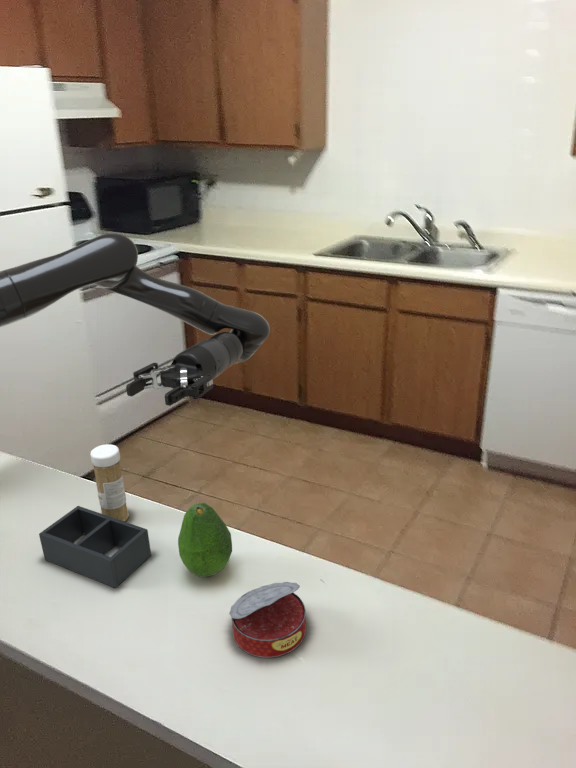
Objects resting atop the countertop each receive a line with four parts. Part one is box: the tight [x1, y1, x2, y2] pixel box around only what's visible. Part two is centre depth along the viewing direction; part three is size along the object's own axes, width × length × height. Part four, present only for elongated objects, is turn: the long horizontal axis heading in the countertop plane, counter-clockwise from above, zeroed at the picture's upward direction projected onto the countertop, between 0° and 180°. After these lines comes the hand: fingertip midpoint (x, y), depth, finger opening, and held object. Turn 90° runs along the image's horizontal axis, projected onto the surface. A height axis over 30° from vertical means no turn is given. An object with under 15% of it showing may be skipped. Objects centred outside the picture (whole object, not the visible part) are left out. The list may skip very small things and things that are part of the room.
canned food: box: [228, 581, 307, 659], centre depth 88 cm, size 11×10×10 cm
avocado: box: [177, 502, 233, 578], centre depth 98 cm, size 8×8×12 cm
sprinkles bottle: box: [90, 443, 130, 522], centre depth 111 cm, size 5×5×13 cm
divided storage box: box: [38, 505, 152, 589], centre depth 104 cm, size 14×8×5 cm, turn 61°
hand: (147, 395), depth 115 cm, fingers open, 8 cm apart
